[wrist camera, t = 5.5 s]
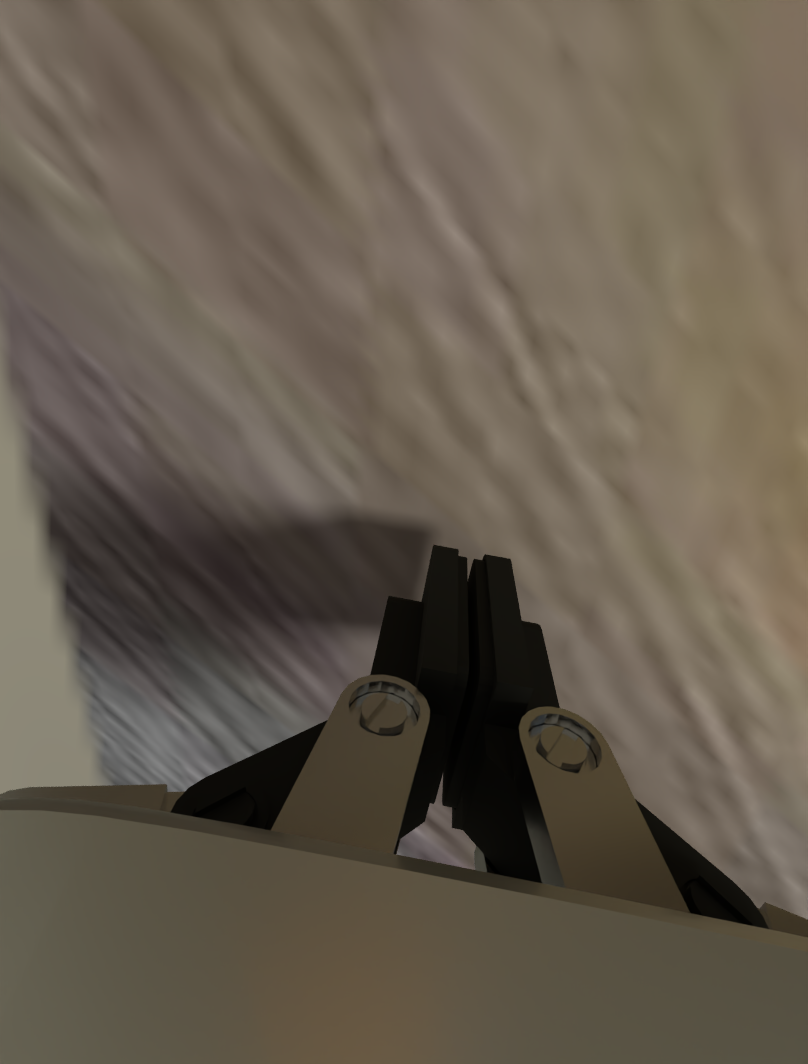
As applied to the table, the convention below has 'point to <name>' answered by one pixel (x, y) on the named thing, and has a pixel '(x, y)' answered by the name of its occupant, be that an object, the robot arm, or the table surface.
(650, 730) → the table surface
